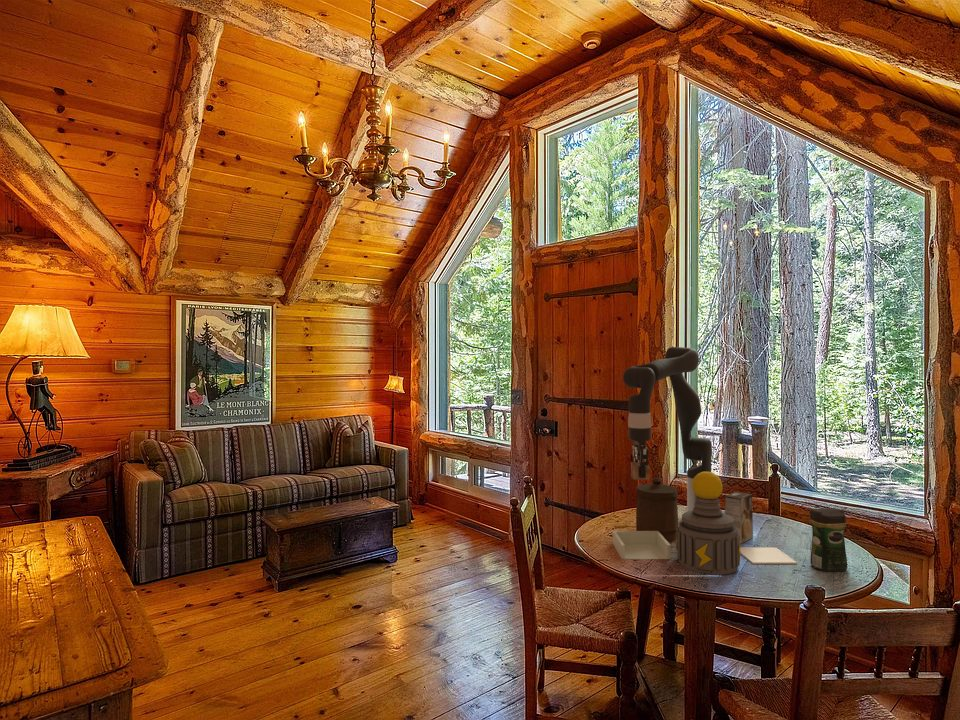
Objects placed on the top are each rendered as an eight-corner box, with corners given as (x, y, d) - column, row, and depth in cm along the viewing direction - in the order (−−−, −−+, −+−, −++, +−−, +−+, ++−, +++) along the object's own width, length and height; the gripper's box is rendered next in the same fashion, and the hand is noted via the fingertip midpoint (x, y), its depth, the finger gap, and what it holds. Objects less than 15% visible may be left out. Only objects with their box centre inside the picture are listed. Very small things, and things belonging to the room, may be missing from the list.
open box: (612, 544, 201) (612, 530, 201) (658, 544, 200) (658, 530, 200) (621, 560, 186) (621, 545, 186) (670, 560, 185) (670, 545, 185)
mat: (734, 548, 195) (734, 547, 195) (776, 549, 194) (776, 547, 194) (752, 563, 181) (752, 562, 181) (797, 564, 180) (797, 562, 180)
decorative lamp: (737, 581, 168) (736, 480, 167) (671, 570, 177) (670, 474, 177) (742, 560, 184) (741, 468, 184) (682, 551, 193) (681, 464, 193)
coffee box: (735, 533, 211) (735, 491, 211) (753, 537, 206) (753, 494, 206) (724, 539, 205) (724, 495, 205) (742, 543, 200) (741, 498, 200)
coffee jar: (834, 562, 181) (834, 505, 181) (852, 572, 173) (851, 511, 173) (805, 563, 181) (804, 505, 181) (821, 573, 173) (821, 512, 173)
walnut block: (631, 476, 195) (630, 462, 194) (645, 476, 194) (645, 462, 194) (634, 479, 190) (634, 465, 190) (649, 479, 189) (649, 465, 189)
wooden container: (672, 531, 215) (672, 473, 215) (682, 544, 201) (682, 482, 201) (633, 530, 217) (632, 473, 217) (640, 543, 202) (639, 482, 202)
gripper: (656, 428, 184) (657, 480, 185) (645, 423, 199) (646, 471, 199) (633, 428, 185) (633, 480, 185) (623, 423, 199) (624, 471, 199)
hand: (640, 475), depth 192 cm, fingers closed on walnut block, 5 cm apart
